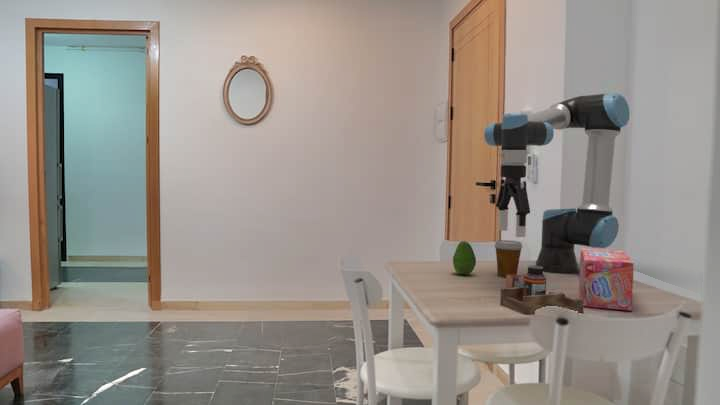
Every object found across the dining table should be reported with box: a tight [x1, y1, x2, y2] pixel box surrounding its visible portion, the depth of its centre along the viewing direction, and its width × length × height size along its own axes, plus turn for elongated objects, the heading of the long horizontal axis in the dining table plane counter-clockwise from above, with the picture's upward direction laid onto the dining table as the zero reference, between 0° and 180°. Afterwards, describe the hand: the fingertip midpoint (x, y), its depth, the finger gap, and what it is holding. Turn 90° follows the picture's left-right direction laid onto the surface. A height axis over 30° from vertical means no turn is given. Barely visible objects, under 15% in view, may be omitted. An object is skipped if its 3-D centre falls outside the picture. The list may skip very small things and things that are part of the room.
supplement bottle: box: [523, 265, 547, 296], centre depth 150 cm, size 6×6×11 cm
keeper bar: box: [505, 274, 524, 288], centre depth 165 cm, size 3×14×4 cm, turn 23°
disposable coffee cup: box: [494, 239, 523, 278], centre depth 192 cm, size 10×10×12 cm
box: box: [578, 247, 634, 312], centre depth 162 cm, size 27×13×14 cm, turn 160°
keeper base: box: [499, 287, 585, 315], centre depth 149 cm, size 17×14×4 cm
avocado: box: [452, 240, 477, 276], centre depth 192 cm, size 8×8×12 cm
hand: (511, 233), depth 168 cm, fingers open, 13 cm apart
